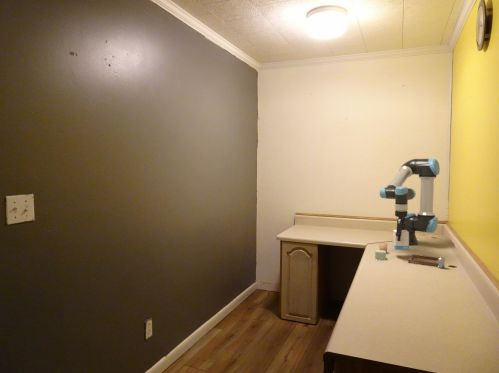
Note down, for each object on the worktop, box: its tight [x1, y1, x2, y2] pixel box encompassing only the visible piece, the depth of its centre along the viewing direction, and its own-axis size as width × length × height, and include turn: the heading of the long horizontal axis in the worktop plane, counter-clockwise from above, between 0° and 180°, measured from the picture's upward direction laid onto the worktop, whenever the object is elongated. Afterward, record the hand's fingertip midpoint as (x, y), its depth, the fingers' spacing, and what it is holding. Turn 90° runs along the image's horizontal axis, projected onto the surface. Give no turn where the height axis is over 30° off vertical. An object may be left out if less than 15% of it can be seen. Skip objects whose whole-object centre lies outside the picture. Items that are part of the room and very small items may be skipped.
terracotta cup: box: [379, 242, 388, 255], centre depth 246 cm, size 5×5×6 cm
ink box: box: [392, 229, 410, 251], centre depth 234 cm, size 9×8×13 cm
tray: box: [407, 254, 438, 268], centre depth 223 cm, size 15×16×2 cm
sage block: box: [374, 249, 387, 261], centre depth 231 cm, size 6×6×5 cm
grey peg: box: [437, 256, 446, 270], centre depth 210 cm, size 4×4×6 cm
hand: (400, 243), depth 235 cm, fingers closed on ink box, 10 cm apart
